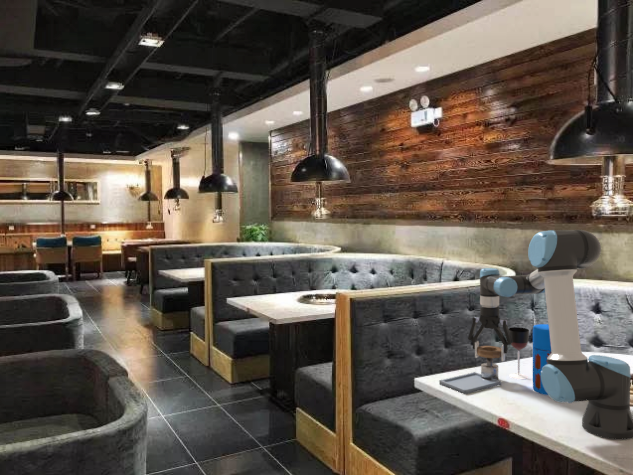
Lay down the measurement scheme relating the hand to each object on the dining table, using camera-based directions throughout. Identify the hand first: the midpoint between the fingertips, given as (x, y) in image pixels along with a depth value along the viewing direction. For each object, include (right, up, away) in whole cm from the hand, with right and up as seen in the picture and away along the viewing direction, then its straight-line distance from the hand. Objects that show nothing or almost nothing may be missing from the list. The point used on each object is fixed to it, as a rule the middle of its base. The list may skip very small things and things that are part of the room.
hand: (489, 358), depth 218 cm
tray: (-10, -9, -5) cm, 14 cm away
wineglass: (+14, -9, +4) cm, 17 cm away
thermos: (+18, -9, -14) cm, 24 cm away
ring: (0, +2, 0) cm, 2 cm away
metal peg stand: (0, -9, +1) cm, 9 cm away
